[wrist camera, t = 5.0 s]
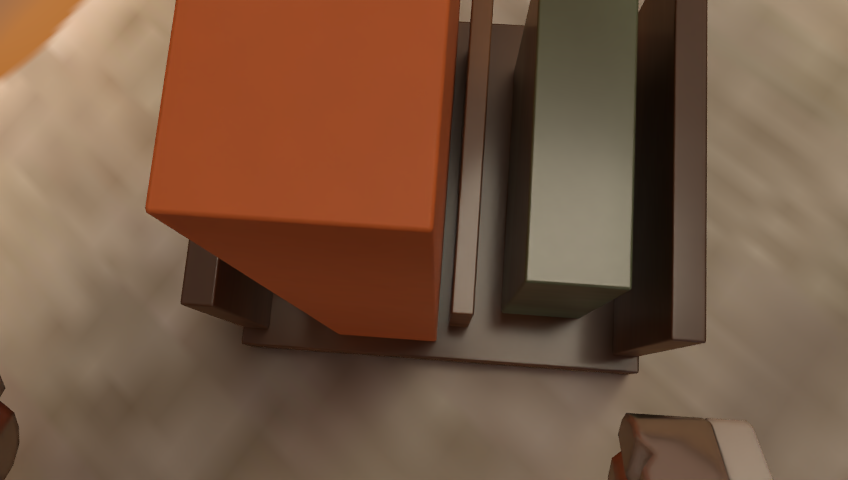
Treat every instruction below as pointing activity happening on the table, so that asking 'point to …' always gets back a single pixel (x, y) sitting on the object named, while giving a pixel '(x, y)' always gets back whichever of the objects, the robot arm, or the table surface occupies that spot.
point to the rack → (548, 198)
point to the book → (314, 151)
